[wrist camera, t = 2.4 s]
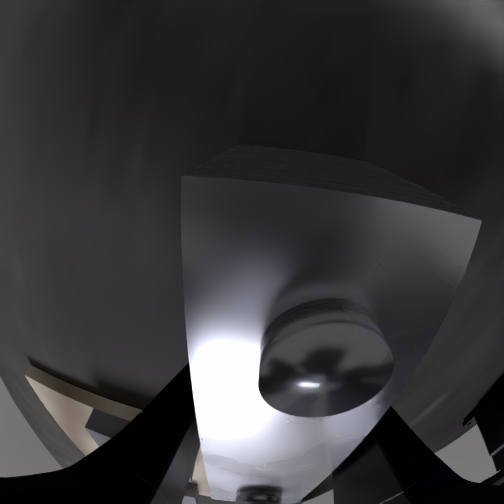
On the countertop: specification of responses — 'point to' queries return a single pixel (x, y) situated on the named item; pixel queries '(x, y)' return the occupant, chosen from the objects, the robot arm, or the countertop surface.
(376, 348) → the silver tapered plate
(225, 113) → the countertop surface
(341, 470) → the robot arm
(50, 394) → the board
